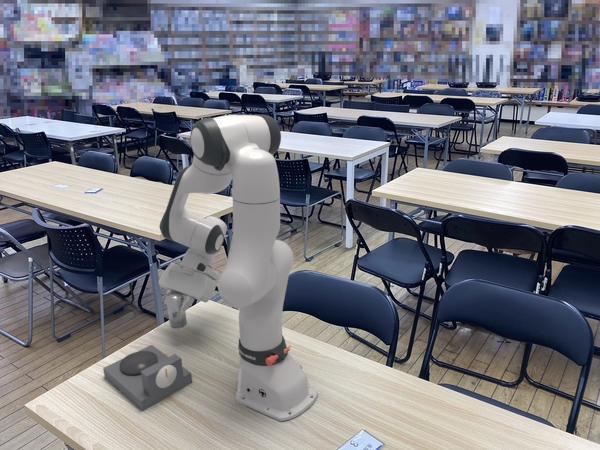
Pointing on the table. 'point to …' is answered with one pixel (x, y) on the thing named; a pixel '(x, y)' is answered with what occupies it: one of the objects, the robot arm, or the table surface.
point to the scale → (148, 376)
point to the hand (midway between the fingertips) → (174, 307)
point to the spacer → (176, 310)
